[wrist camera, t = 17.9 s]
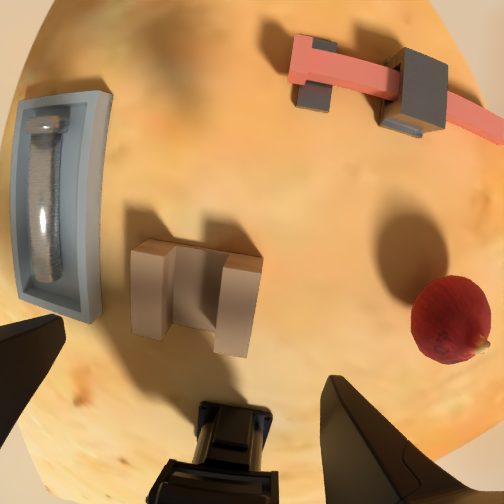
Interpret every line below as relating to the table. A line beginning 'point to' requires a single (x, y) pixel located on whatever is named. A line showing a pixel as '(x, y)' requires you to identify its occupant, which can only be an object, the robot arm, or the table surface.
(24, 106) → the tray
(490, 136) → the keeper bar
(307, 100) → the keeper guide
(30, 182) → the pin
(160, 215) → the table surface
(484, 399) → the table surface
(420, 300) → the onion
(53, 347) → the robot arm
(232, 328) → the channel block
